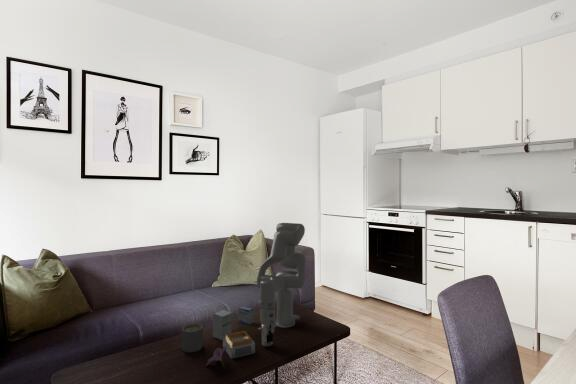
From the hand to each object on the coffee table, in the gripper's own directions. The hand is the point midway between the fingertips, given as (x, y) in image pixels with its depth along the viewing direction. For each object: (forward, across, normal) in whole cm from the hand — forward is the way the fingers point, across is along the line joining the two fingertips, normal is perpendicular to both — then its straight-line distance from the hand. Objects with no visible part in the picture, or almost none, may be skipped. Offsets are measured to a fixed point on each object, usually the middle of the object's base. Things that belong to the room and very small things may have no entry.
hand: (267, 338), depth 168 cm
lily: (+3, -7, +28) cm, 29 cm away
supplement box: (+4, +20, +18) cm, 27 cm away
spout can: (+2, 0, +1) cm, 3 cm away
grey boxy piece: (+3, +2, +14) cm, 15 cm away
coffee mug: (+3, +16, +34) cm, 38 cm away
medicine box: (+4, +32, 0) cm, 33 cm away
